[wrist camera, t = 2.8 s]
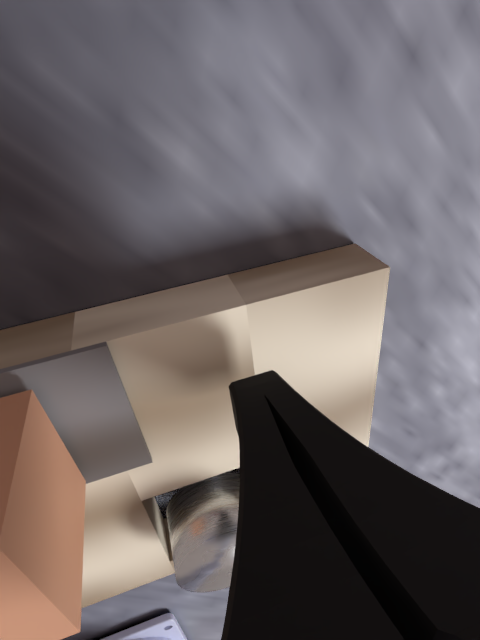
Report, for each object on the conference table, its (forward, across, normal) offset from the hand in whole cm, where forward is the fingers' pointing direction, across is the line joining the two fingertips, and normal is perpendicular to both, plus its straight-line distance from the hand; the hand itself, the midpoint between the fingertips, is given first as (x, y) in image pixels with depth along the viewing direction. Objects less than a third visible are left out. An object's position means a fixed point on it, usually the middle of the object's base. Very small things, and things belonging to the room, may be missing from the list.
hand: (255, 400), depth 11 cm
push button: (+2, +2, +7) cm, 7 cm away
